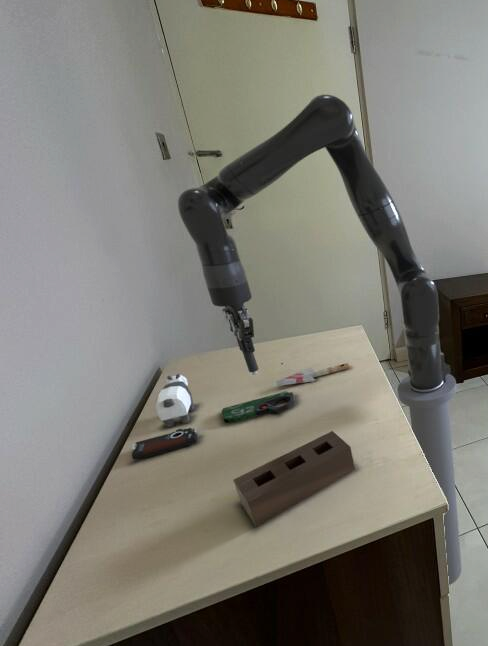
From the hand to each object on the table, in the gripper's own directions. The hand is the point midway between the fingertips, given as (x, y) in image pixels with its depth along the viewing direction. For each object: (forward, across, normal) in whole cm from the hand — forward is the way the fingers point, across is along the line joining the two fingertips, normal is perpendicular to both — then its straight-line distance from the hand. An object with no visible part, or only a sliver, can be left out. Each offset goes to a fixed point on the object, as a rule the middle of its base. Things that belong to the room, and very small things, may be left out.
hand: (247, 351), depth 95 cm
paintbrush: (+19, +10, -17) cm, 27 cm away
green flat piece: (+19, +4, 0) cm, 20 cm away
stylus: (+6, 0, 0) cm, 6 cm away
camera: (+19, +5, +19) cm, 27 cm away
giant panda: (+19, +18, +14) cm, 30 cm away
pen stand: (+19, -31, +4) cm, 36 cm away
